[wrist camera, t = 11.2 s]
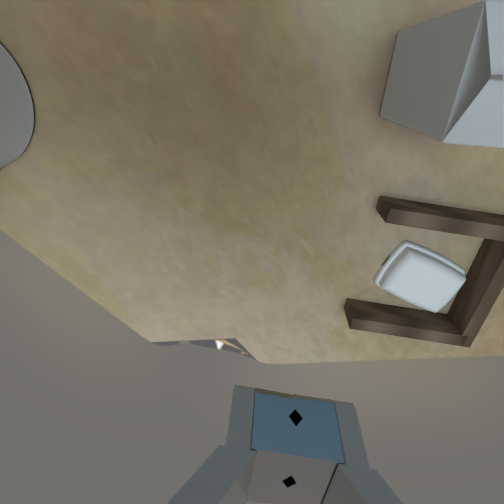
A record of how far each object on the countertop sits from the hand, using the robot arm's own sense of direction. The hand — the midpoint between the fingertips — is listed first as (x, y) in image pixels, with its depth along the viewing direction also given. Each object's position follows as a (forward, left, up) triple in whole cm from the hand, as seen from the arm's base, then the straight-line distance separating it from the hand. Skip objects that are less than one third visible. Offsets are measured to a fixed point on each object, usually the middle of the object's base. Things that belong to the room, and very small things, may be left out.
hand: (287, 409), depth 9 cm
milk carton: (+12, +9, -31) cm, 35 cm away
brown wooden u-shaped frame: (+18, -10, -31) cm, 37 cm away
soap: (+18, -11, -32) cm, 38 cm away
